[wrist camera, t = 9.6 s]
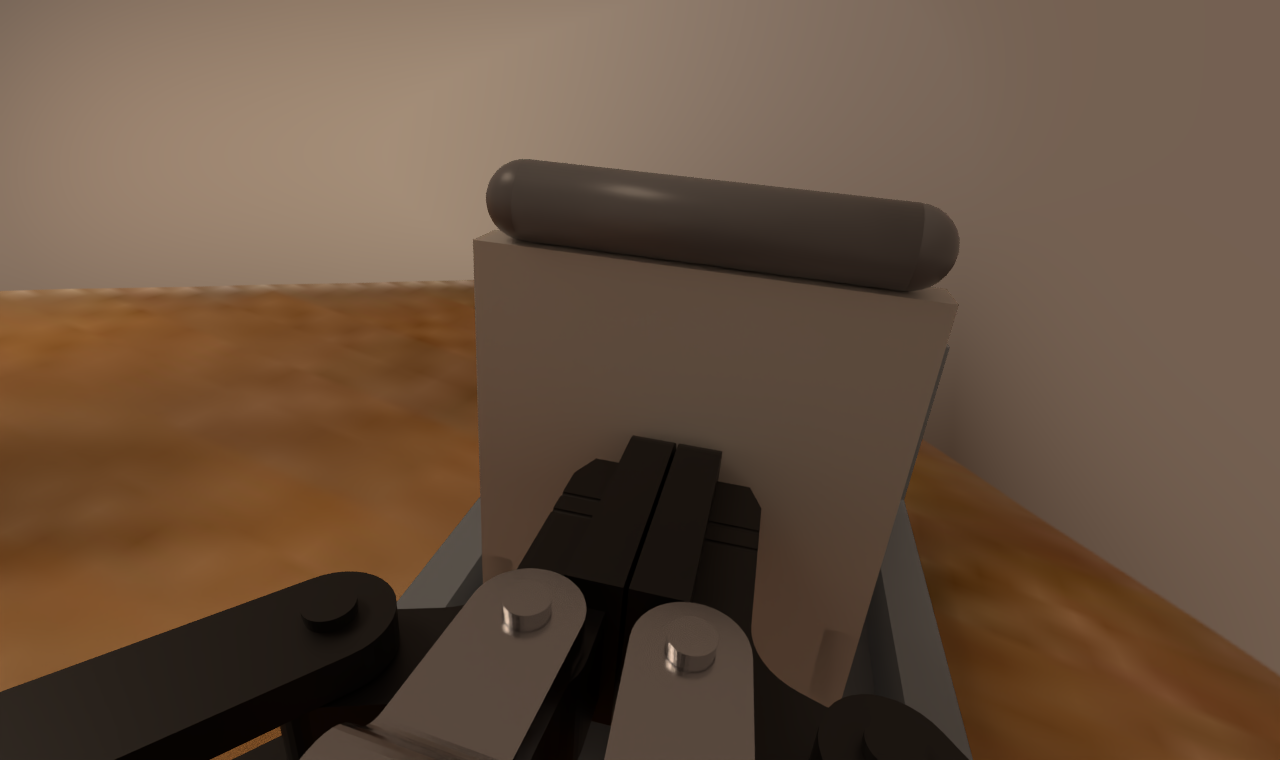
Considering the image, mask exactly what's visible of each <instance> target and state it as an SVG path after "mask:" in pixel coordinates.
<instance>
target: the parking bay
mask: <svg viewBox="0 0 1280 760" xmlns="http://www.w3.org/2000/svg"><path fill="white" fill-rule="evenodd" d="M949 348H950V347H949V346H948V344H947V346H946V349H945V353H944V356H943V359H942V363H941V366H940V369H939V373H938V376H937V380H936V383H935V386H934V390H933V393H932V396H931V400H930V403H929V406H928V410H927V413H926V417H925V420H924V423H923V427H922V430H921V433H920V437H919V440H918V443H917V447H916V450H915V454H914V457H913V460H912V464H911V467H910V470H909V474H908V477H907V480H906V484H905V487H904V490H903V494H902V497H901V501H900V504H899V507H898V511H897V514H896V517H895V521H894V524H893V527H892V531H891V534H890V538H889V541H888V544H887V548H886V551H885V554H884V558H883V561H882V564H881V568H880V571H879V575H878V578H877V581H876V585H875V588H874V591H873V595H872V598H871V601H870V605H869V608H868V612H867V615H866V618H865V622H864V625H863V628H862V632H861V635H860V638H859V642H858V645H857V648H856V652H855V655H854V659H853V662H852V665H851V669H850V672H849V675H848V679H847V682H846V685H845V689H844V692H843V696H842V698H844V697H847V696H851V695H858V694H872V695H878V696H883V697H887V698H890V699H893V700H896V701H899V702H901V703H903V704H905V705H907V706H909V707H911V708H913V709H914V710H916V711H918V712H919V713H921V714H922V715H924V716H925V717H926V718H928V719H929V720H930V721H932V722H933V723H934V724H935V725H936V726H937V727H938V728H939V729H940V730H941V731H942V732H943V733H944V734H945V735H946V736H947V737H948V738H949V739H950V740H951V741H952V742H953V743H954V744H955V745H956V746H957V748H958V749H959V750H960V751H961V752H962V753H963V754H964V755H965V756H966V757H967V758H968V759H969V760H973V758H972V755H971V751H970V747H969V743H968V739H967V736H966V732H965V728H964V724H963V721H962V717H961V713H960V709H959V706H958V702H957V698H956V694H955V691H954V687H953V683H952V679H951V675H950V672H949V668H948V664H947V660H946V657H945V653H944V649H943V645H942V642H941V638H940V634H939V630H938V627H937V623H936V619H935V615H934V611H933V608H932V604H931V600H930V596H929V593H928V589H927V585H926V581H925V578H924V574H923V570H922V566H921V563H920V559H919V555H918V551H917V547H916V544H915V540H914V536H913V532H912V529H911V525H910V521H909V517H908V514H907V510H906V506H905V502H904V498H905V495H906V491H907V488H908V485H909V481H910V478H911V475H912V471H913V468H914V465H915V461H916V458H917V455H918V451H919V448H920V445H921V441H922V438H923V435H924V431H925V428H926V425H927V421H928V418H929V415H930V411H931V408H932V405H933V401H934V398H935V395H936V391H937V388H938V385H939V381H940V378H941V375H942V371H943V368H944V364H945V361H946V358H947V354H948V351H949ZM482 584H483V571H482V536H481V501H480V498H479V499H478V500H477V501H476V503H475V504H474V505H473V506H472V508H471V509H470V510H469V511H468V513H467V514H466V515H465V517H464V518H463V519H462V520H461V522H460V523H459V524H458V525H457V527H456V528H455V529H454V530H453V532H452V533H451V534H450V536H449V537H448V538H447V539H446V541H445V542H444V543H443V544H442V546H441V547H440V548H439V549H438V551H437V552H436V553H435V555H434V556H433V557H432V558H431V560H430V561H429V562H428V563H427V565H426V566H425V567H424V568H423V570H422V571H421V572H420V574H419V575H418V576H417V577H416V579H415V580H414V581H413V582H412V584H411V585H410V586H409V587H408V589H407V590H406V591H405V593H404V594H403V595H402V596H401V598H400V599H399V600H398V601H397V609H416V608H444V607H455V606H460V605H465V604H466V602H467V601H468V600H469V599H470V597H471V596H472V595H473V593H474V592H475V591H476V590H477V589H478V588H479V587H480V586H481V585H482ZM610 729H611V726H609V725H605V724H601V723H597V722H594V721H591V724H590V727H589V730H588V733H587V736H586V739H585V742H584V745H583V748H582V751H581V753H580V756H579V758H578V760H604V758H605V753H606V749H607V744H608V739H609V734H610Z"/></svg>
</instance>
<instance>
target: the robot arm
mask: <svg viewBox="0 0 1280 760" xmlns="http://www.w3.org/2000/svg"><path fill="white" fill-rule="evenodd" d="M721 459H722V451H719V450H713V449H707V448H702V447H696V446H691V445H685V444H680V443H679V444H678V447H677V449H676V443H674V442H668V441H663V440H657V439H652V438H646V437H640V436H635V435H633V436H632V437H631V439H630V441H629V443H628V445H627V447H626V449H625V451H624V453H623V455H622V457H621V459H620V461H619V463H618V462H613V461H607V460H602V459H597V458H596V459H594V460H593V461H591V462H590V463H588V464H587V465H585V466H584V467H582V468H580V469H579V470H577V471H576V472H574V474H573V475H572V477H571V479H570V480H569V482H568V484H567V486H566V487H565V489H564V491H563V494H562V496H560V497H559V499H558V501H557V502H556V504H555V506H554V507H553V512H550V514H549V516H548V517H547V519H546V521H545V522H544V524H543V526H542V527H541V529H540V531H539V532H538V534H537V536H536V538H535V539H534V541H533V543H532V544H531V546H530V548H529V549H528V551H527V553H526V554H525V556H524V558H523V559H522V561H521V563H520V564H519V566H518V568H517V569H516V570H512V571H508V572H504V573H502V574H499V575H497V576H495V577H493V578H491V579H489V580H488V581H486V582H485V583H484V584H482V585H481V586H480V587H479V588H478V589H477V590H476V591H475V592H474V593H473V595H472V596H471V597H470V599H469V600H468V601H467V602H466V604H465V605H460V606H455V607H444V608H416V609H397V602H396V595H395V593H394V591H393V589H392V588H391V587H390V585H389V584H388V583H387V582H385V581H384V580H383V579H381V578H379V577H377V576H374V575H371V574H367V573H362V572H337V573H331V574H326V575H322V576H319V577H316V578H313V579H310V580H307V581H304V582H302V583H299V584H296V585H293V586H291V587H288V588H285V589H282V590H280V591H277V592H274V593H271V594H269V595H266V596H263V597H260V598H258V599H255V600H252V601H249V602H247V603H244V604H241V605H238V606H236V607H233V608H230V609H227V610H225V611H222V612H219V613H216V614H214V615H211V616H208V617H205V618H203V619H200V620H197V621H194V622H192V623H189V624H186V625H183V626H181V627H178V628H175V629H172V630H170V631H167V632H164V633H161V634H159V635H156V636H153V637H150V638H148V639H145V640H142V641H139V642H137V643H134V644H131V645H128V646H126V647H123V648H120V649H117V650H115V651H112V652H109V653H106V654H104V655H101V656H98V657H95V658H93V659H90V660H87V661H84V662H82V663H79V664H76V665H73V666H71V667H68V668H65V669H62V670H60V671H57V672H54V673H51V674H49V675H46V676H43V677H40V678H38V679H35V680H32V681H29V682H27V683H24V684H21V685H18V686H16V687H13V688H10V689H7V690H5V691H2V692H0V760H210V759H212V758H214V757H216V756H219V755H221V754H223V753H225V752H227V751H229V750H231V749H233V748H235V747H237V746H239V745H242V744H244V743H246V742H248V741H250V740H252V739H254V738H256V737H258V736H260V735H262V734H265V733H267V732H269V731H271V730H273V729H275V728H277V727H279V726H280V729H281V733H282V736H280V737H278V738H275V739H273V740H271V741H269V742H267V743H265V744H263V745H261V746H259V747H257V748H255V749H253V750H251V751H249V752H247V753H245V754H243V755H241V756H238V757H236V758H234V759H232V760H578V758H579V756H580V753H581V751H582V748H583V745H584V742H585V739H586V736H587V733H588V730H589V727H590V724H591V721H594V722H597V723H601V724H605V725H609V726H611V729H610V734H609V739H608V744H607V749H606V753H605V758H604V760H969V759H968V758H967V757H966V756H965V755H964V754H963V753H962V752H961V751H960V750H959V749H958V748H957V746H956V745H955V744H954V743H953V742H952V741H951V740H950V739H949V738H948V737H947V736H946V735H945V734H944V733H943V732H942V731H941V730H940V729H939V728H938V727H937V726H936V725H935V724H934V723H933V722H932V721H930V720H929V719H928V718H926V717H925V716H924V715H922V714H921V713H919V712H918V711H916V710H914V709H913V708H911V707H909V706H907V705H905V704H903V703H901V702H899V701H896V700H893V699H890V698H887V697H883V696H878V695H872V694H858V695H851V696H847V697H844V698H841V699H840V700H838V701H836V702H834V703H833V704H832V705H831V706H830V707H829V708H828V707H826V706H824V705H822V704H820V703H818V702H817V701H815V700H813V699H811V698H809V697H807V696H805V695H803V694H801V693H800V692H798V691H796V690H795V689H793V688H791V687H790V686H788V685H787V684H785V683H784V682H783V681H781V680H780V679H779V678H778V677H777V676H776V675H775V674H774V673H773V672H771V671H770V670H769V668H768V667H767V666H766V665H765V663H764V662H763V661H762V659H761V658H760V656H759V654H758V653H757V650H756V648H755V646H754V643H753V639H752V633H751V624H752V613H753V601H754V590H755V578H756V566H757V555H758V554H757V552H758V543H759V531H760V520H761V507H760V505H759V503H758V501H757V499H756V498H755V496H754V494H753V492H752V490H751V489H750V487H745V486H740V485H735V484H730V483H724V482H719V481H718V479H719V472H720V466H721ZM611 723H612V725H611Z"/></svg>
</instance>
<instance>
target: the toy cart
mask: <svg viewBox="0 0 1280 760" xmlns="http://www.w3.org/2000/svg"><path fill="white" fill-rule="evenodd" d="M486 203H487V208H488V212H489V215H490V217H491V219H492V221H493V222H494V224H495V225H496V226H497V227H498V228H499V229H500V230H501V231H499V230H494V231H492V232H489V233H487V234H485V235H483V236H480V237H478V238H476V239H473V250H474V288H475V324H476V359H477V395H478V430H479V465H480V501H481V536H482V571H483V584H484V583H485V582H486V581H488V580H489V579H491V578H493V577H495V576H497V575H499V574H502V573H504V572H508V571H512V570H516V569H517V568H518V566H519V564H520V563H521V561H522V559H523V558H524V556H525V554H526V553H527V551H528V549H529V548H530V546H531V544H532V543H533V541H534V539H535V538H536V536H537V534H538V532H539V531H540V529H541V527H542V526H543V524H544V522H545V521H546V519H547V517H548V516H549V514H550V512H553V507H554V506H555V504H556V502H557V501H558V499H559V497H560V496H562V494H563V491H564V489H565V487H566V486H567V484H568V482H569V480H570V479H571V477H572V475H573V474H574V472H576V471H577V470H579V469H580V468H582V467H584V466H585V465H587V464H588V463H590V462H591V461H593V460H594V459H596V458H597V459H602V460H607V461H613V462H618V463H619V461H620V459H621V457H622V455H623V453H624V451H625V449H626V447H627V445H628V443H629V441H630V439H631V437H632V436H633V435H635V436H640V437H646V438H652V439H657V440H663V441H668V442H674V443H676V449H677V447H678V444H679V443H680V444H685V445H691V446H696V447H702V448H707V449H713V450H719V451H722V459H721V466H720V472H719V479H718V481H719V482H724V483H730V484H735V485H740V486H745V487H750V489H751V490H752V492H753V494H754V496H755V498H756V499H757V501H758V503H759V505H760V507H761V520H760V531H759V543H758V552H757V554H758V555H757V566H756V578H755V590H754V601H753V613H752V624H751V633H752V639H753V643H754V646H755V648H756V650H757V653H758V654H759V656H760V658H761V659H762V661H763V662H764V663H765V665H766V666H767V667H768V668H769V670H770V671H771V672H773V673H774V674H775V675H776V676H777V677H778V678H779V679H780V680H781V681H783V682H784V683H785V684H787V685H788V686H790V687H791V688H793V689H795V690H796V691H798V692H800V693H801V694H803V695H805V696H807V697H809V698H811V699H813V700H815V701H817V702H818V703H820V704H822V705H824V706H826V707H828V708H829V707H830V706H831V705H832V704H833V703H834V702H836V701H838V700H840V699H841V698H842V696H843V692H844V689H845V685H846V682H847V679H848V675H849V672H850V669H851V665H852V662H853V659H854V655H855V652H856V648H857V645H858V642H859V638H860V635H861V632H862V628H863V625H864V622H865V618H866V615H867V612H868V608H869V605H870V601H871V598H872V595H873V591H874V588H875V585H876V581H877V578H878V575H879V571H880V568H881V564H882V561H883V558H884V554H885V551H886V548H887V544H888V541H889V538H890V534H891V531H892V527H893V524H894V521H895V517H896V514H897V511H898V507H899V504H900V501H901V497H902V494H903V490H904V487H905V484H906V480H907V477H908V474H909V470H910V467H911V464H912V460H913V457H914V454H915V450H916V447H917V443H918V440H919V437H920V433H921V430H922V427H923V423H924V420H925V417H926V413H927V410H928V406H929V403H930V400H931V396H932V393H933V390H934V386H935V383H936V380H937V376H938V373H939V369H940V366H941V363H942V359H943V356H944V353H945V349H946V346H947V343H948V339H949V336H950V333H951V329H952V326H953V322H954V319H955V315H956V312H957V309H958V306H959V305H958V303H957V302H956V301H955V299H954V298H953V297H952V296H951V294H950V293H949V292H948V290H947V289H942V288H935V287H931V286H933V285H934V284H936V283H938V282H939V281H940V280H942V278H944V277H945V276H946V275H947V274H948V273H949V271H950V270H951V269H952V267H953V266H954V264H955V261H956V259H957V256H958V253H959V236H958V231H957V228H956V226H955V224H954V223H953V221H952V220H951V219H950V217H949V216H948V215H947V214H946V213H944V212H943V211H942V210H940V209H939V208H937V207H934V206H932V205H929V204H923V203H919V202H910V201H900V200H892V199H883V198H874V197H865V196H855V195H846V194H838V193H828V192H819V191H810V190H801V189H792V188H783V187H773V186H765V185H756V184H747V183H737V182H729V181H720V180H711V179H702V178H693V177H684V176H674V175H665V174H657V173H648V172H638V171H629V170H621V169H612V168H602V167H593V166H584V165H575V164H566V163H557V162H548V161H539V160H530V159H524V160H523V159H519V160H515V161H511V162H509V163H507V164H505V165H503V166H502V167H501V168H500V169H499V170H497V171H496V173H495V174H494V175H493V177H492V178H491V180H490V182H489V185H488V188H487V193H486ZM611 725H612V723H611Z"/></svg>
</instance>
